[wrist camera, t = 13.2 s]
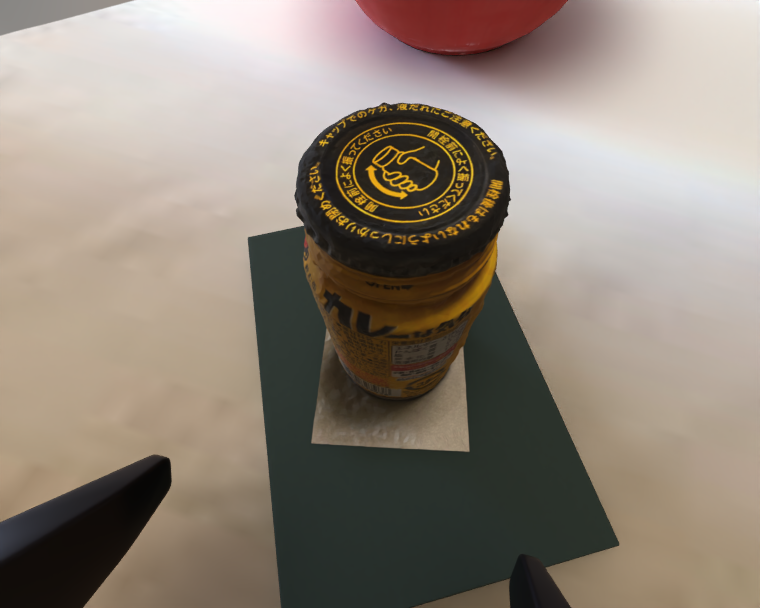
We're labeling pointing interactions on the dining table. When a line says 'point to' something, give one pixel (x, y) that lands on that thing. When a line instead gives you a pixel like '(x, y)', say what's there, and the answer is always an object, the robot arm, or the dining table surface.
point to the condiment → (399, 269)
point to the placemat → (412, 465)
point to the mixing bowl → (459, 22)
